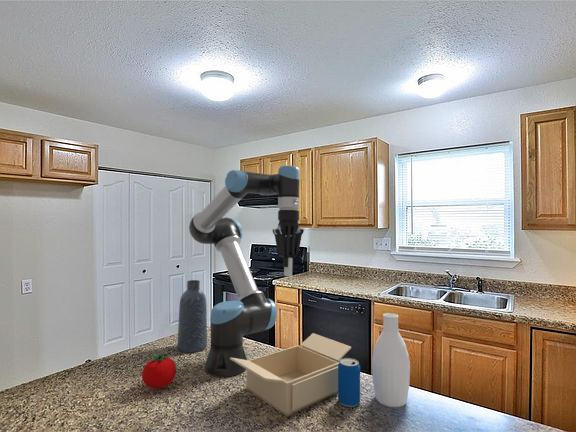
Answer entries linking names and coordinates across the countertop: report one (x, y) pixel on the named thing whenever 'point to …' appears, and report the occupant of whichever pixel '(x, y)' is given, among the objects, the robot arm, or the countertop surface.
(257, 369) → the flap
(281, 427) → the countertop surface
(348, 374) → the beverage can
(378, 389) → the bottle
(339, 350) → the flap
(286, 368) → the carton
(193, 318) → the vase
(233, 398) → the countertop surface
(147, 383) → the tomato
